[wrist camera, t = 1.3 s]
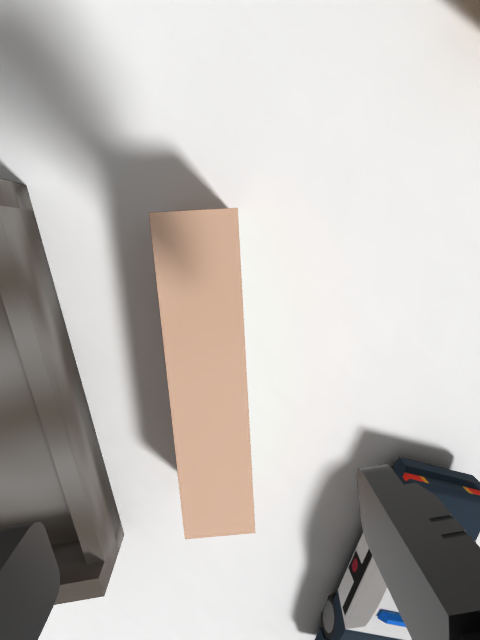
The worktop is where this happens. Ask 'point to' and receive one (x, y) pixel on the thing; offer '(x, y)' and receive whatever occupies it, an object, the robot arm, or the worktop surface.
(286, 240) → the worktop surface
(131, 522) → the worktop surface
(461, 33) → the worktop surface
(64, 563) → the charcoal tray
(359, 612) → the toy car
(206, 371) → the tan rectangular block
